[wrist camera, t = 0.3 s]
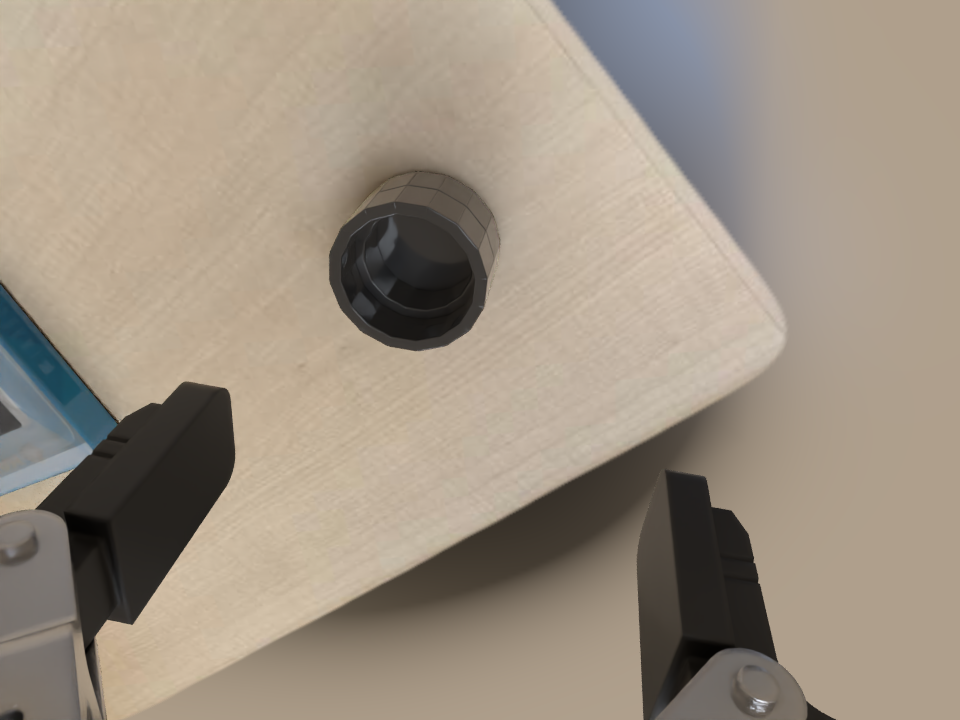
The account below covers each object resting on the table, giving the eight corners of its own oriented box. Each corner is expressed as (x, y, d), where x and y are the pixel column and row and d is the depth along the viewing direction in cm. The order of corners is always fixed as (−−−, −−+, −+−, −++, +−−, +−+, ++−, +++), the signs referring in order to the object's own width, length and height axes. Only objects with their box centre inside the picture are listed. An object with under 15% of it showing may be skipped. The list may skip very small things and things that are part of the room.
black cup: (363, 157, 30) (328, 191, 27) (509, 179, 30) (495, 217, 26) (360, 289, 34) (329, 336, 30) (492, 311, 33) (477, 362, 29)
